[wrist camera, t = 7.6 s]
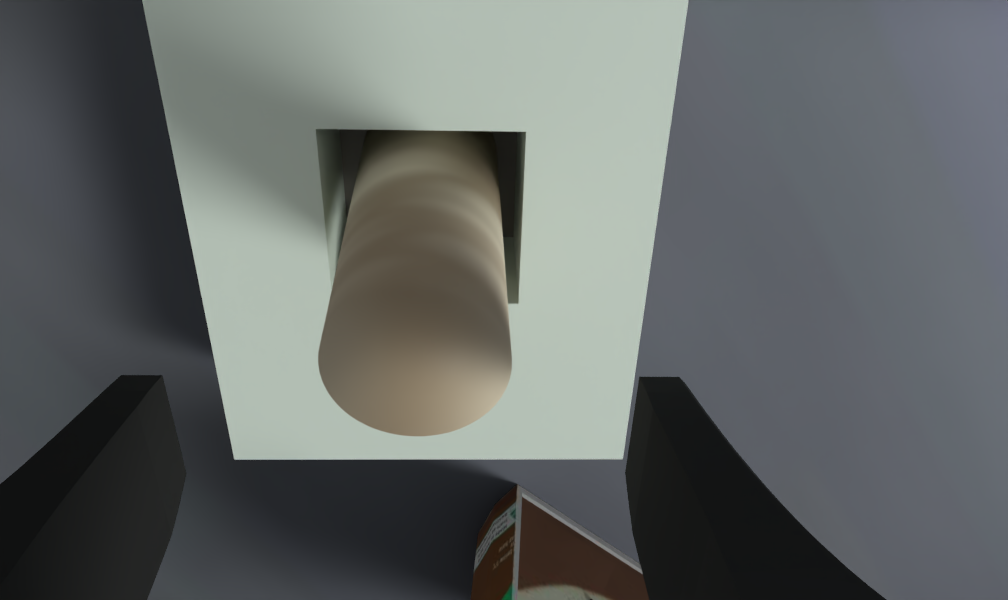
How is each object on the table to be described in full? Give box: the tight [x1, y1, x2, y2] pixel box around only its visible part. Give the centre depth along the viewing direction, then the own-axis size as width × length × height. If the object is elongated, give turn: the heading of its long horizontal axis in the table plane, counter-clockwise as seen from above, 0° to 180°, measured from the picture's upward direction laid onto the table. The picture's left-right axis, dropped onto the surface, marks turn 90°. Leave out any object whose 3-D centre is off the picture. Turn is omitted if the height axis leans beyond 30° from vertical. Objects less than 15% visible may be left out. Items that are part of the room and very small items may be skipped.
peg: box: [318, 130, 512, 436], centre depth 18 cm, size 3×3×8 cm
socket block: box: [142, 0, 688, 460], centre depth 20 cm, size 10×14×4 cm
